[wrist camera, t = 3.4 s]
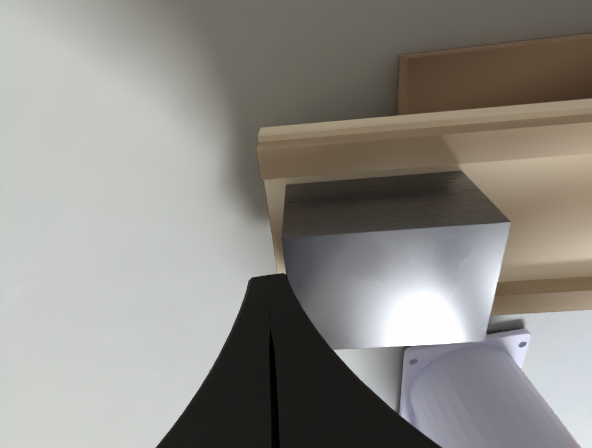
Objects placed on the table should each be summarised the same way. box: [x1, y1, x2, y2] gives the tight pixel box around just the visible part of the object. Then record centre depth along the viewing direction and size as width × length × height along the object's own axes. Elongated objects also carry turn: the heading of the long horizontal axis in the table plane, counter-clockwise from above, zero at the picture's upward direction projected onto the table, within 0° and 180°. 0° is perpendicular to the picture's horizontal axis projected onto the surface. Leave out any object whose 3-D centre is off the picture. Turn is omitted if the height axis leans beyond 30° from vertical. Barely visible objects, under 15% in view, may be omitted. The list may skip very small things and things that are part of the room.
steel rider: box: [281, 170, 511, 350], centre depth 13 cm, size 4×6×4 cm
